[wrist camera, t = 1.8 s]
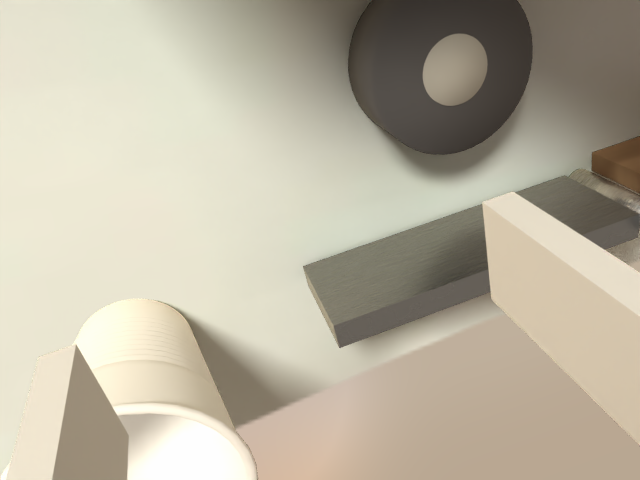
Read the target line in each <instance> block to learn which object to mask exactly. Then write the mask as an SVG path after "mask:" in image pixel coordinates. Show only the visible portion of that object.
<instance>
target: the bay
mask: <svg viewBox="0 0 640 480" xmlns="http://www.w3.org/2000/svg"><path fill="white" fill-rule="evenodd" d="M592 171H594V172H596V173H598V174H600V175H602V176H604V177H606V178H609V179H611V180H613V181H615V182H617V183H619V184H621V185H623V186H625V187H627V188H630V189H632V190H634V191H636V192H638V193H640V136H639V137H636V138H633V139H630V140H627V141H625V142H622V143H619V144H616V145H613V146H610V147H607V148H604V149H601V150H598V151H595V152H593V153H592Z"/></svg>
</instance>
